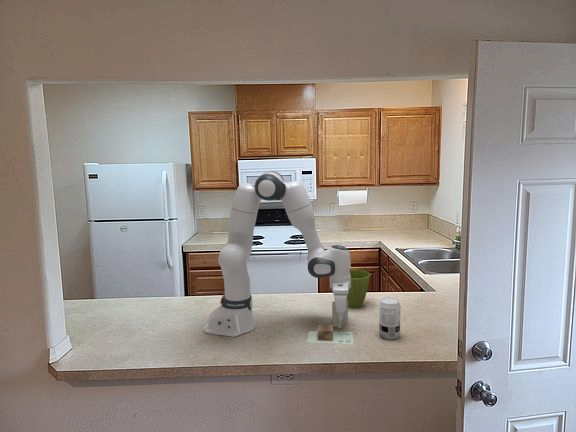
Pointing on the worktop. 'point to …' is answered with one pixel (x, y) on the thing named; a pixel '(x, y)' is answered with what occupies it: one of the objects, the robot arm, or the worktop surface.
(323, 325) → the walnut brick
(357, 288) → the flower pot
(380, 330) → the supplement can
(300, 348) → the worktop surface
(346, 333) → the base board
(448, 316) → the worktop surface
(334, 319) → the skincare box
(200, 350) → the worktop surface
